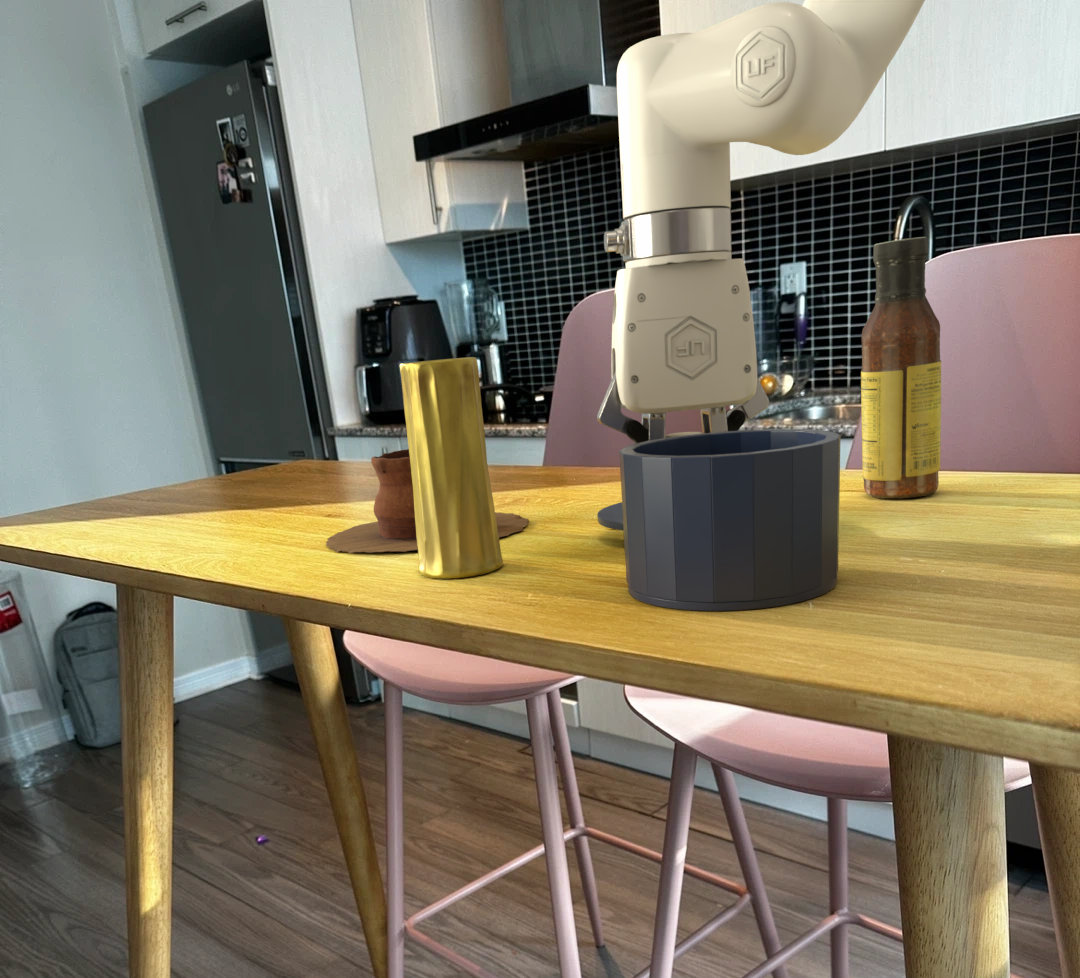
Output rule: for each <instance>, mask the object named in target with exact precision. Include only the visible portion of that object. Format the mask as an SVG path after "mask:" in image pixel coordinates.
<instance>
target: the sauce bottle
mask: <svg viewBox="0 0 1080 978" xmlns="http://www.w3.org/2000/svg"><path fill="white" fill-rule="evenodd" d="M928 241H929V239H928V238H927V237H926V236H918V237H909V238H901V239H895V240H894V239H893V240H890V241H884V242H879V243H875V244H874V245H873V255H872V256H873V257H872V260H873V263H874V267H875V296H874V304H875V305H874V306H873V309H872V312H871V313H870V315H869V317H868V319H867V321H866V322H865V324H864V327H863V328H862V331H861V336H860V337H861V369H860V370H861V371H860V387H861V388H860V391H861V392H860V396H861V398H860V399H861V400H860V401H861V403H860V404H861V407H860V409H861V448H862V449H861V455H862V458H861V459H862V461H861V464H862V465H861V467H862V479H863V489H864V490H863V491H864V492H865V493H866V495H867V496H870V497H873V498H876V499H878V500H879V499H880V500H881V499H899V500H900V499H901V500H902V499H903V500H904V499H909V498H910V499H911V498H919V497H925V496H928V495H931V494H935V493H936V492H937V491H938V488H939V484H940V483H939V481H940V480H939V478H940V477H939V472H940V470H941V446H942V444H941V443H942V442H941V441H942V439H941V436H942V434H941V432H942V360H941V324H940V321H939V319H938V318H937V315H936V314H935V312H934V310H933V308H932V306H931V304H930V302H929V300H928V299H927V296H926V293H927V289H926V284H925V283H926V260H927V257H928V254H929V244H928Z"/></svg>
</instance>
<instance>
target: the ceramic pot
mask: <svg viewBox="0 0 1080 978" xmlns="http://www.w3.org/2000/svg"><path fill="white" fill-rule="evenodd" d="M370 461H371V466H372V467H373V469H374V470H375V474H376V477H377V478H378V483H379V490H378V493H377V494H376V496H375V499H374V504H373V515H374V516H375V518H376V520H377V521H372V522H367V523H361V524H358V525H355V526H352V527H350V528H347V529H344V530H342V531H339V532H337V533H334V535H331V536H329V537H328V538H327V539H326V540H327V541H326V542H325V546H326V547H328V549H330V550H333V551H334V552H336V553H338V552H339V553H340V552H342V553H343V552H346V553H349V554H352V553H363V552H364V553H368V554H369V553H370V554H371V553H384V552H404V553H407V552H409V551H418V546H417V537H416V523H415V510H414V494H413V483H412V474H411V464H410V454H409V448H407V449H400V450H393V451H392V452H384V453H382V454H381V455H380V456H372V457H371V459H370ZM495 515H496V522H497V529H498V535H499V538H502V537H506V536H510V535H511V534H514V533H518V532H521V531H523V530H525V529H524V528H525V527H526V526H527V525H528V524H529V523H530V521H529V518H526V517H522V516H521V515H520V514H516V513H513V512H509V513H507V512H495Z"/></svg>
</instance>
